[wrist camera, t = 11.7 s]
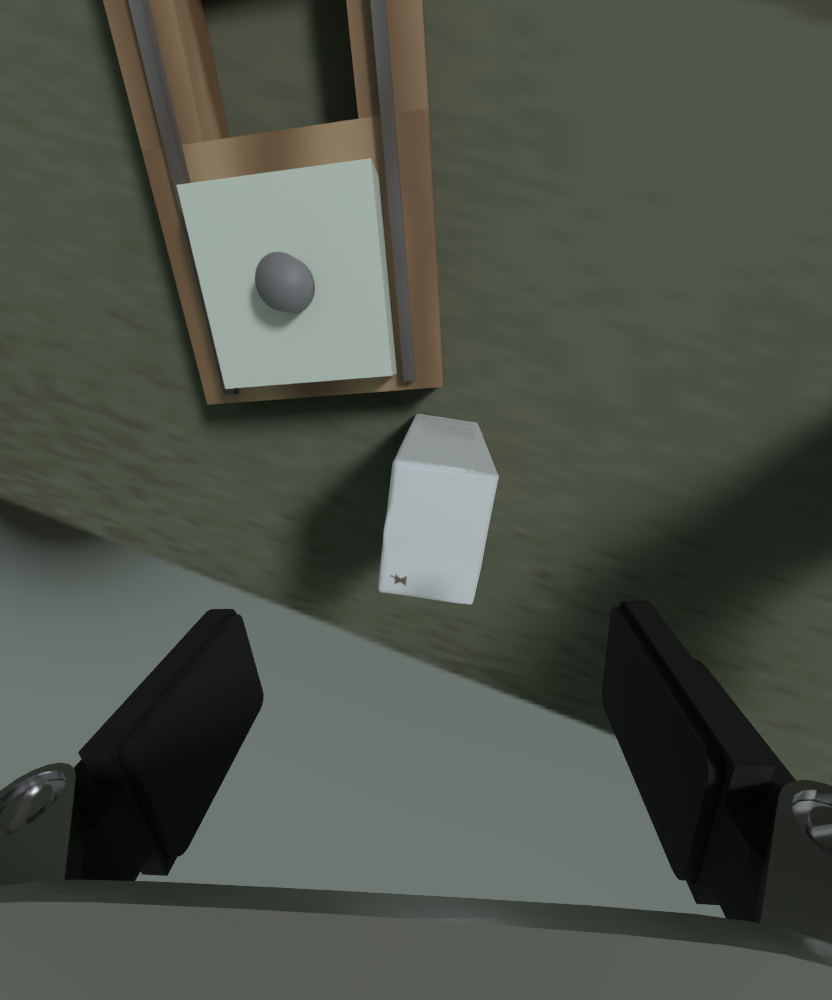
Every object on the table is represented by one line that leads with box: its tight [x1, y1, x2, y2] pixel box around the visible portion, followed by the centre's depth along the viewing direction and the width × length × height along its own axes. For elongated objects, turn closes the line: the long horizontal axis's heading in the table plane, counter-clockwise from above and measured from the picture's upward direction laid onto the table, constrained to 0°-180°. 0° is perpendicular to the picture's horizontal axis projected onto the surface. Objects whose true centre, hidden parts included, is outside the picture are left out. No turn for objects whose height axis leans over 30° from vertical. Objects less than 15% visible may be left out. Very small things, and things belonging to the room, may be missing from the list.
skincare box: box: [378, 414, 499, 605], centre depth 22 cm, size 6×4×12 cm
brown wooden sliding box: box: [103, 0, 444, 405], centre depth 20 cm, size 14×24×4 cm, turn 5°
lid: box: [177, 158, 397, 389], centre depth 20 cm, size 9×9×3 cm
